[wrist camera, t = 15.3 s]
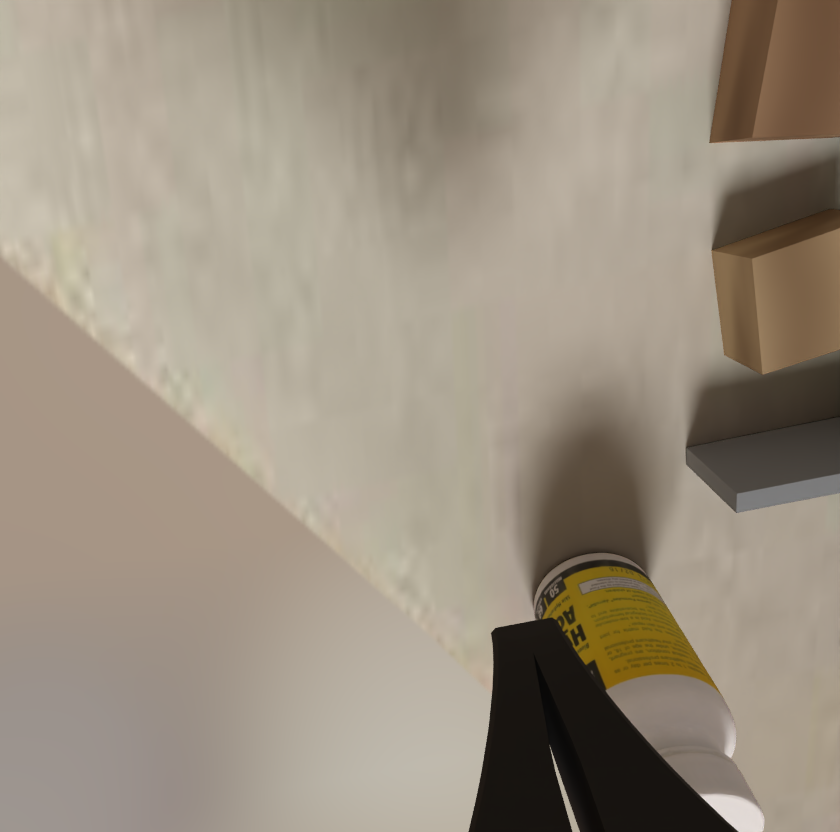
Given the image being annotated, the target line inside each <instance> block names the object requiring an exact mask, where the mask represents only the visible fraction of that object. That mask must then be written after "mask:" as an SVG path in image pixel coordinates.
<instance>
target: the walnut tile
mask: <svg viewBox="0 0 840 832" xmlns="http://www.w3.org/2000/svg"><path fill="white" fill-rule="evenodd" d="M833 137H840V0H732V2H731V9H730V15H729V21H728V28H727V34H726V41H725V47H724V53H723V60H722V66H721V72H720V79H719V85H718V92H717V98H716V104H715V111H714V117H713V123H712V130H711V136H710V142H709V143H721V142H744V141H766V140H789V139H812V138H833Z"/></svg>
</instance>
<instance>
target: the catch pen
mask: <svg viewBox="0 0 840 832" xmlns="http://www.w3.org/2000/svg"><path fill="white" fill-rule="evenodd" d="M686 465H687V466H688V467H689V468H690V469H691V470H693V471H694V472H695V473H696V474H697V475H698V476H699V477H700V478H701V479H702V480H703V481H704V482H705V483H706V484H707V485H708V486H709V487H710V488H711V489H712V490H713V491H714V492H715V493H716V494H717V495H718V496H719V497H720V498H721V499H722V500H723V501H724V502H726V503H727V504H728V505H729V506H730V507H731V508H732V509H733V510H734V511H735V512H736V513H739V512H744V511H749V510H754V509H759V508H765V507H770V506H775V505H780V504H785V503H790V502H795V501H801V500H806V499H811V498H816V497H821V496H826V495H832V494H837V493H840V417H836V418H831V419H826V420H821V421H816V422H811V423H806V424H801V425H796V426H791V427H786V428H781V429H776V430H771V431H767V432H762V433H757V434H752V435H747V436H742V437H737V438H732V439H727V440H722V441H717V442H712V443H707V444H702V445H697V446H692V447H687V448H686Z"/></svg>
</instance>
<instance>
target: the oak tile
mask: <svg viewBox="0 0 840 832" xmlns="http://www.w3.org/2000/svg"><path fill="white" fill-rule="evenodd" d="M711 251H712V259H713V267H714V275H715V284H716V292H717V300H718V308H719V316H720V324H721V332H722V341H723V349H724V355H725V356H727V357H729V358H731V359H733V360H735V361H737V362H739V363H741V364H743V365H745V366H747V367H749V368H750V369H752V370H754V371H756V372H758V373H760V374H762V375H764V374H767V373H770V372H773V371H776V370H779V369H782V368H785V367H788V366H791V365H794V364H797V363H800V362H803V361H807V360H810V359H813V358H816V357H819V356H822V355H825V354H828V353H831V352H834V351H837V350H840V210H836V209H828V210H825V211H822V212H820V213H817V214H814V215H811V216H808V217H805V218H802V219H800V220H797V221H794V222H791V223H788V224H785V225H783V226H780V227H777V228H774V229H771V230H768V231H765V232H763V233H760V234H757V235H754V236H751V237H748V238H745V239H743V240H740V241H737V242H734V243H731V244H728V245H725V246H723V247H720V248H717V249H714V250H711Z"/></svg>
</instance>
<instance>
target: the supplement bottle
mask: <svg viewBox="0 0 840 832" xmlns="http://www.w3.org/2000/svg"><path fill="white" fill-rule="evenodd" d="M534 614H535V619H536V620H541V619H546V618H551V617H552V618H554V619H555V620H557V621H558V623H559V624H560V626H561V628H562V630H563V631H564V633H565V635H566V636H567V638H568V640H569V641H570V643H571V644H572V646H573V647H574V649H575V650H576V652H577V653H578V655H579V656H580V658H581V659H582V660H583V662H584V663H585V665H586V666H587V667H588V669H589V670H590V672H591V673H592V674H593V676H594V677H595V678H596V680H597V681H598V682H599V684H600V685H601V686H602V687H603V689H604V690H605V691H606V692H607V694H608V695H609V696H610V697H611V699H612V700H613V701H614V702H615V704H616V705H617V706H618V707H619V709H620V710H621V711H622V712H623V713H624V715H625V716H626V717H627V718H628V719H629V720H630V722H631V723H632V724H633V725H634V726H635V727H636V728H637V730H638V731H639V732H640V733H641V734H642V735H643V736H644V738H645V739H646V740H647V741H648V742H649V743H650V744H651V745H652V747H653V748H654V749H655V750H656V751H657V752H658V753H659V754H660V755H661V756H662V757H663V758H664V759H665V761H666V762H667V763H668V764H669V765H670V766H671V767H672V768H673V769H674V770H675V771H676V772H677V773H678V774H679V775H680V776H681V777H682V778H683V779H684V780H685V781H686V782H687V783H688V784H689V785H690V786H691V787H692V788H693V789H694V790H695V791H696V792H697V793H698V794H699V795H700V796H701V797H702V798H703V799H704V800H705V801H706V802H707V803H708V804H709V805H710V806H711V807H712V808H714V809H715V810H716V811H717V812H718V813H719V814H720V815H721V816H722V817H723V818H724V819H725V820H726V821H727V822H728V823H729V824H730V825H732V826H733V827H734V828H735V829H736V830H737V831H738V832H763V828H764V816H763V812H762V810H761V808H760V806H759V804H758V802H757V800H756V799H755V797H754V795H753V793H752V791H751V789H750V788H749V786H748V784H747V782H746V780H745V779H744V777H743V775H742V773H741V772H740V770H739V769H738V767H737V765H736V764H735V762H734V761H733V760H732V759H731V757H732V755H733V752H734V749H735V744H736V728H735V722H734V719H733V717H732V714H731V712H730V710H729V708H728V706H727V704H726V702H725V700H724V698H723V696H722V695H721V693H720V692H719V690H718V688H717V687H716V685H715V684H714V682H713V680H712V679H711V677H710V676H709V674H708V672H707V671H706V669H705V668H704V666H703V664H702V663H701V661H700V659H699V658H698V656H697V655H696V653H695V651H694V650H693V648H692V646H691V645H690V643H689V642H688V640H687V638H686V637H685V635H684V633H683V632H682V630H681V629H680V627H679V625H678V624H677V622H676V621H675V619H674V617H673V616H672V614H671V612H670V611H669V609H668V607H667V606H666V604H665V603H664V601H663V599H662V598H661V596H660V594H659V593H658V591H657V590H656V588H655V586H654V585H653V583H652V582H651V580H650V579H649V577H648V576H647V574H646V573H645V572H644V571H643V570H642V569H641V568H640V567H639V566H638V565H637V564H636V563H634V562H633V561H631V560H629V559H627V558H625V557H622V556H619V555H616V554H610V553H592V554H585V555H581V556H578V557H575V558H572V559H569V560H567V561H565V562H563V563H561V564H560V565H558V566H557V567H555V568H554V569H553V570H552V571H550V572H549V573H548V574H547V575H546V577H545V578H544V579H543V580H542V582H541V584H540V585H539V587H538V589H537V592H536V595H535V599H534Z"/></svg>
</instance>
